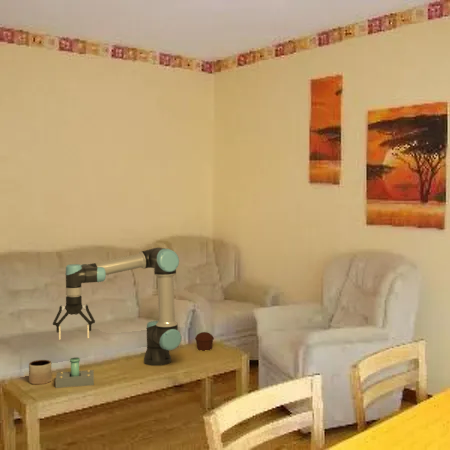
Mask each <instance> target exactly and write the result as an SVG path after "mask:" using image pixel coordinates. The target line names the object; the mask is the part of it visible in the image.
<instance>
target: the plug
mask: <svg viewBox="0 0 450 450" xmlns="http://www.w3.org/2000/svg"><path fill="white" fill-rule="evenodd" d="M80 361H81V358H80V357H70V358H69V363H70V372H71V377H73V376H79V371H80Z"/></svg>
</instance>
